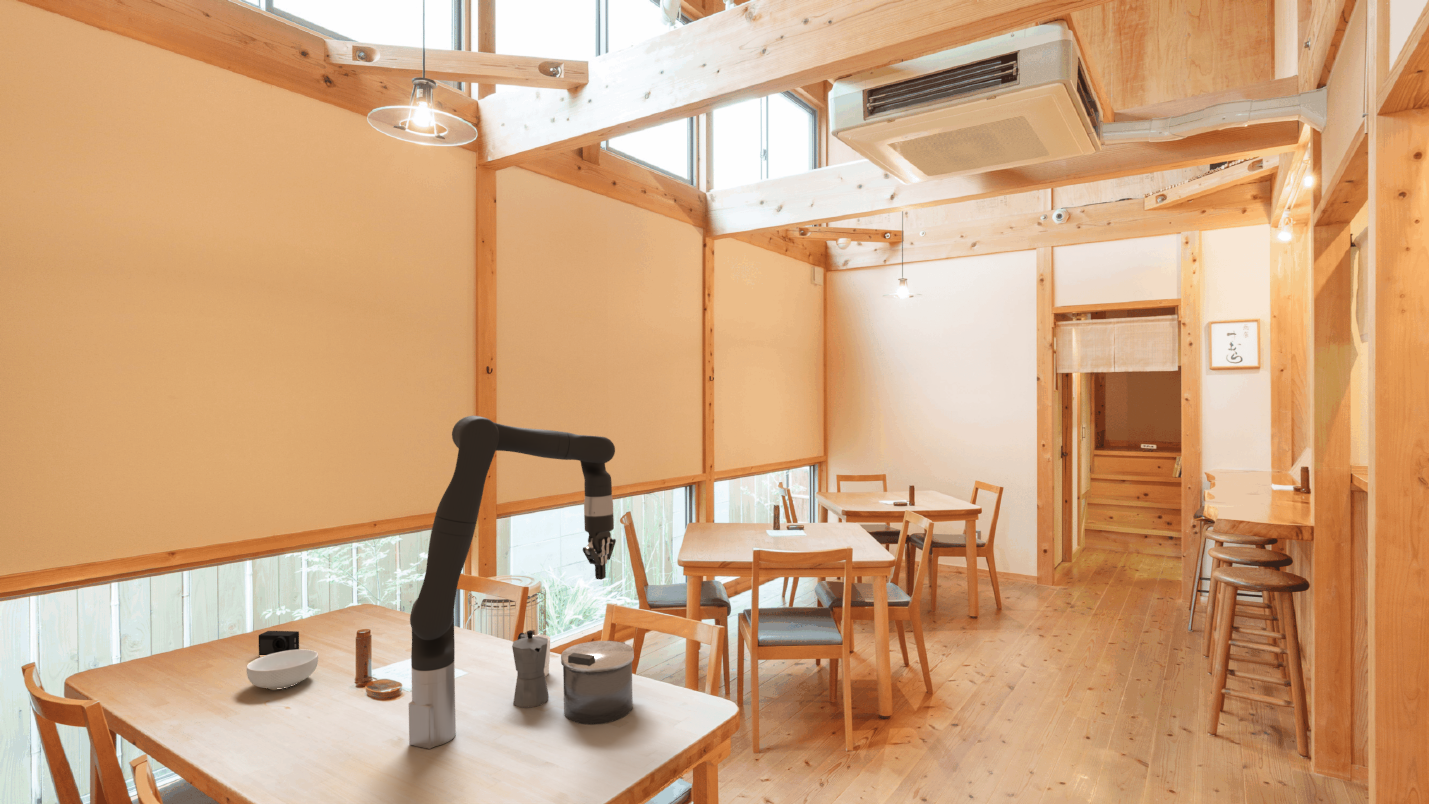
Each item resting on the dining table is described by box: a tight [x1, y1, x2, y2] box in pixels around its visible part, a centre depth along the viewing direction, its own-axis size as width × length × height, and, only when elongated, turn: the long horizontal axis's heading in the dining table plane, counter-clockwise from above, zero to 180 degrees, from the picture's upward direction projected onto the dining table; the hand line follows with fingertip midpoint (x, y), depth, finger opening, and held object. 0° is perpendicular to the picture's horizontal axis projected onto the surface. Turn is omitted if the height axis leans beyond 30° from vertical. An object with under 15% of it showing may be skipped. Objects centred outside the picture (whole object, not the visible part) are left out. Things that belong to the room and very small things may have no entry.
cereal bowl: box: [246, 648, 319, 689], centre depth 191 cm, size 17×17×7 cm
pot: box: [562, 661, 634, 725], centre depth 174 cm, size 19×17×12 cm
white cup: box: [532, 634, 551, 677], centre depth 195 cm, size 8×8×10 cm
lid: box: [560, 640, 635, 672], centre depth 173 cm, size 19×18×3 cm
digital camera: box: [258, 630, 300, 656], centre depth 213 cm, size 10×5×7 cm, turn 84°
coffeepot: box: [511, 630, 549, 709], centre depth 179 cm, size 15×9×18 cm, turn 33°
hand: (600, 578), depth 180 cm, fingers closed
